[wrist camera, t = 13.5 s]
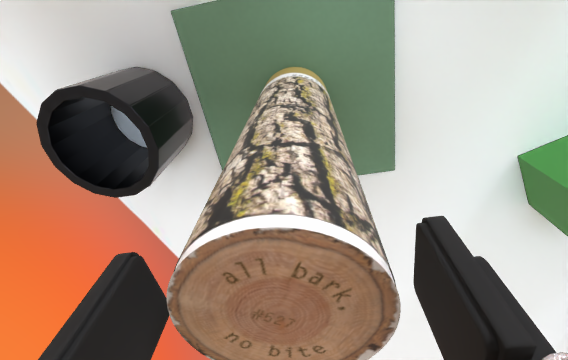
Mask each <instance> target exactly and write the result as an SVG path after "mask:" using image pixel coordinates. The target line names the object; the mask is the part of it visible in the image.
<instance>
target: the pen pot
mask: <svg viewBox="0 0 568 360" xmlns="http://www.w3.org/2000/svg"><path fill="white" fill-rule="evenodd" d="M110 105H111V106H113V107H114V108H116V109H118V110H119V111H121V112H123V113H125V115H126V116H127V117H128V118H129V119H130V120H131V121H132V122H133V123H134V124H135V126H136V127H137V128H138V129H139V130H140V132H141V134H142V136H143V139H144V141H145V143H146V145H147V148H143V147H140V146H139V145H137V144H135V143H133V142H132V141H130V140H128V139H127V138H126V137H125V136H124V135H123V134H122V132H121V131H120V130H119V129H118V128H117V126H116V124H115V122H114V120H113V118H112V116H111V112H110ZM192 122H193V116H192V113H191V110H190V107H189V104H188V101H187V99H186V98H185V96H184V95H183V94H182V93H181V91H180V90H179V89H178V88H177V86H176V85H175V84H174V83H173V82H172V81H170V80H169V79H167V78H166V77H164V76H162V75H161V74H159V73H158V72H156V71H153V70H148V69H144V68H139V67H133V68H128V69H123V70H119V71H116V72H112V73H109V74H106V75H103V76H99V77H96V78H93V79H90V80H86V81H83V82H80V83H77V84H73V85H70V86H67V87H64V88H60V89H57V90H56V91H54V92H53V93H52V94H51V95H50V96H49V97H48V98H47V99H46V100H45V101H44V102H42V104H41V107H40V111H39V115H38V119H37V128H38V133H39V137H40V141H41V145H42V147H43V149H44V150H45V152H46V154H47V155H48V157H49V158H50V160H51V161H52V163H53V165H54V166H55V167H56V168H57V169H58V170H59V171H61V172H62V173H63V174H64V175H65V176H66V177H67V178H69V179H70V180H71V181H72V182H73V183H75V184H77V185H79V186H81V187H83V188H85V189H87V190H89V191H91V192H93V193H95V194H100V195H105V196H110V197H116V198H117V197H124V196H131V195H136V194H138V193H139V192H141V191H142V190H144V189H145V188H147V187H149V186H150V185H151V184H152V183H153V182H154V181H155V179H156V178H157V177H158V176H159V175H160V174H161V173H162V171H163V170H164V169H165V168H166V167H167V166H168V165H169V163H170V162H171V161H172V160H173V159H174V158H175V157H176V156H177V154H178V153H179V152H180V151H181V150H182V149H183V148H184V146H185V145H186V143H187V141H188V139H189V138H190V136H191V134H192Z"/></svg>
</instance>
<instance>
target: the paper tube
mask: <svg viewBox="0 0 568 360" xmlns="http://www.w3.org/2000/svg"><path fill="white" fill-rule="evenodd" d="M167 307H168V311H169V315H170V317H171V320H172V322H173V324H174V326H175V327H176V329H177V330H178V332H179V333H180V334H181V336H182V337H183V338H184V339H185V340H186V341H187V342H188V343H189V344H190V345H191V346H192V347H194V348H195V349H196V350H197V351H199V352H200V353H202V354H203V355H205V356H206V357H208V358H210V359H211V360H368V359H369V358H371V357H372V356H374V355H375V354H376V353H377V352H379V351H380V350H381V349H382V348H383V347H384V346H385V345H386V344H387V342H388V341H389V340H390V338H391V337H392V336H393V334H394V332H395V330H396V328H397V325H398V322H399V318H400V299H399V294H398V291H397V289H396V284H395V280H394V277H393V274H392V271H391V268H390V266H389V263H388V260H387V257H386V254H385V251H384V249H383V246H382V243H381V240H380V237H379V235H378V232H377V229H376V226H375V223H374V221H373V218H372V215H371V212H370V209H369V207H368V204H367V201H366V198H365V195H364V193H363V190H362V187H361V184H360V181H359V178H358V176H357V173H356V170H355V167H354V164H353V162H352V159H351V156H350V153H349V150H348V148H347V145H346V142H345V139H344V136H343V134H342V131H341V128H340V125H339V122H338V120H337V117H336V114H335V111H334V108H333V105H332V103H331V100H330V97H329V95H328V92H327V89H326V87H325V85H324V83H323V81H322V80H321V79H320V78H319V77H318V76H317V75H316V74H315V73H314V72H312V71H310V70H308V69H305V68H302V67H289V68H285V69H282V70H280V71H278V72H277V73H275V74H274V75H273V76H272V77H271V78H270V79H269V80H268V82H267V83H266V85H265V87H264V89H263V91H262V92H261V94H260V96H259V98H258V100H257V102H256V104H255V106H254V108H253V110H252V113H251V115H250V117H249V119H248V121H247V123H246V125H245V127H244V129H243V131H242V133H241V135H240V137H239V139H238V141H237V143H236V145H235V147H234V149H233V151H232V153H231V155H230V157H229V159H228V161H227V163H226V165H225V167H224V169H223V171H222V173H221V175H220V177H219V179H218V181H217V183H216V185H215V187H214V189H213V191H212V193H211V195H210V197H209V199H208V201H207V203H206V205H205V207H204V209H203V211H202V213H201V215H200V217H199V219H198V221H197V224H196V226H195V228H194V230H193V232H192V234H191V236H190V238H189V240H188V242H187V244H186V246H185V248H184V250H183V252H182V254H181V256H180V258H179V260H178V262H177V264H176V267H175V270H174V273H173V275H172V277H171V279H170V282H169V285H168V289H167Z"/></svg>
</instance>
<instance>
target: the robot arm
mask: <svg viewBox="0 0 568 360" xmlns="http://www.w3.org/2000/svg"><path fill="white" fill-rule="evenodd" d="M414 288H415V292H416V294H417V297H418V299H419V301H420V304H421V306H422V308H423V311H424V313H425V316H426V318H427V320H428V323H429V325H430V327H431V330H432V332H433V335H434V337H435V339H436V342H437V344H438V347H439V349H440V351H441V354H442V356H443V358H444V360H568V353H562V352H560V353H556V352H555V350H554V349H553V348H552V346H551V345H550V344H549V342H548V341H547V340H546V338H545V337H544V336H543V334H542V333H541V332H540V330H539V329H538V328H537V327H536V325H535V324H534V323H533V321H532V320H531V319H530V317H529V316H528V315H527V313H526V312H525V311H524V309H523V308H522V307H521V305H520V304H519V303H518V301H517V300H516V299H515V298H514V296H513V295H512V294H511V292H510V291H509V290H508V288H507V287H506V286H505V284H504V283H503V282H502V280H501V279H500V278H499V276H498V275H497V274H496V272H495V271H494V270H493V268H492V267H491V266H490V265H489V263H488V262H487V261H486V260H485V259H484V258H482V257H481V256H476V257H473V256H472V254H471V253H470V251H469V250H468V249H467V247H466V246H465V244H464V243H463V242H462V240H461V239H460V237H459V236H458V235H457V233H456V232H455V230H454V229H453V228H452V226H451V225H450V223H449V222H448V221H447V219H446V218H445V217H444V216H436V217H428V218H423V219H422V223H418V224H417V225H416V242H415V263H414ZM168 317H169V311H168V307H167V298H166V297H165V295H164V293H163V292H162V290H161V288H160V286H159V285H158V283H157V281H156V279H155V278H154V276H153V274H152V273H151V271H150V269H149V267H148V266H147V264H146V262H145V261H144V259H143V258H142V257H141V256H139V255H138V254H137V253H135V252H131V253H123V254H118V255H116V256H115V257H114V259H113V260H112V261H111V262H110V264H109V265H108V266H107V268H106V269H105V271H104V272H103V273H102V275H101V276H100V277H99V278H98V280H97V281H96V283H95V284H94V285H93V287H92V288H91V289H90V291H89V292H88V293H87V295H86V296H85V297H84V299H83V300H82V301H81V303H80V304H79V305H78V307H77V308H76V310H75V311H74V312H73V313H72V315H71V316H70V317H69V319H68V320H67V321H66V323H65V324H64V325H63V327H62V328H61V330H60V331H59V332H58V334H57V335H56V336H55V338H54V339H53V340H52V342H51V343H50V344H49V346H48V347H47V348H46V350H45V351H44V352H43V354H42V355H41V357H40V358H39V359H38V360H151V358H152V355H153V353H154V351H155V348H156V346H157V343H158V341H159V339H160V336H161V334H162V331H163V329H164V327H165V324H166V322H167V320H168Z"/></svg>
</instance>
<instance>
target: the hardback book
mask: <svg viewBox="0 0 568 360" xmlns="http://www.w3.org/2000/svg"><path fill="white" fill-rule="evenodd" d="M518 160H519V164H520V169H521V173H522V177H523V181H524V185H525V190H526V194H527V198H528V202H529V205H531V206H532V207H533V208H534V209H535V210H537V211H538V212H539V213H540V214H541V215H543V216H544V217H545V218H546V219H547V220H549V221H550V222H551V223H552V224H553V225H555V226H556V227H557V228H558V229H559V230H561V231H562V232H563V233H564V234H565V235H567V236H568V136H566V137H563V138H561V139H558V140H556V141H553V142H551V143H549V144H546V145H544V146H541V147H539V148H536V149H534V150H532V151H529V152H527V153H524V154H522V155H519V156H518Z"/></svg>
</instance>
